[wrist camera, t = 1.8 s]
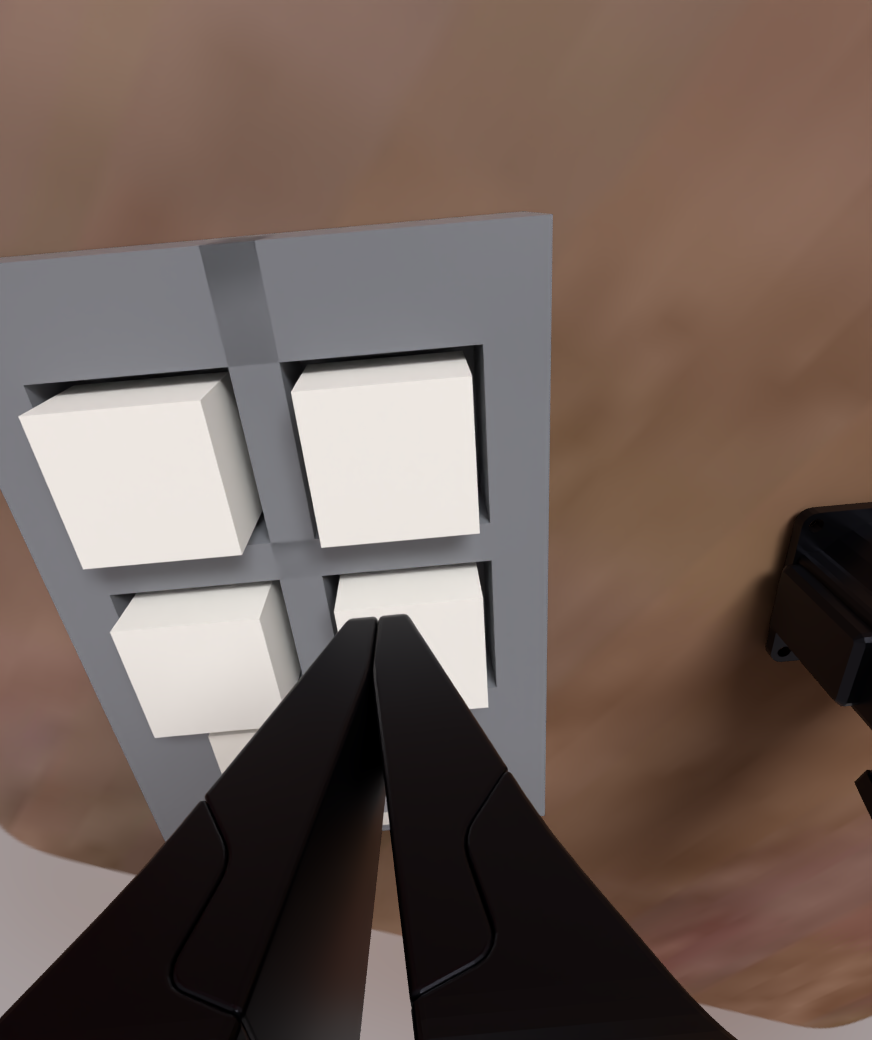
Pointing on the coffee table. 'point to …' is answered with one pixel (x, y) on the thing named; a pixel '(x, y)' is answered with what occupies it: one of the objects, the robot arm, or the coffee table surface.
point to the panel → (298, 438)
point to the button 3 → (389, 448)
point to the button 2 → (208, 656)
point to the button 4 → (429, 615)
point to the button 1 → (148, 469)
